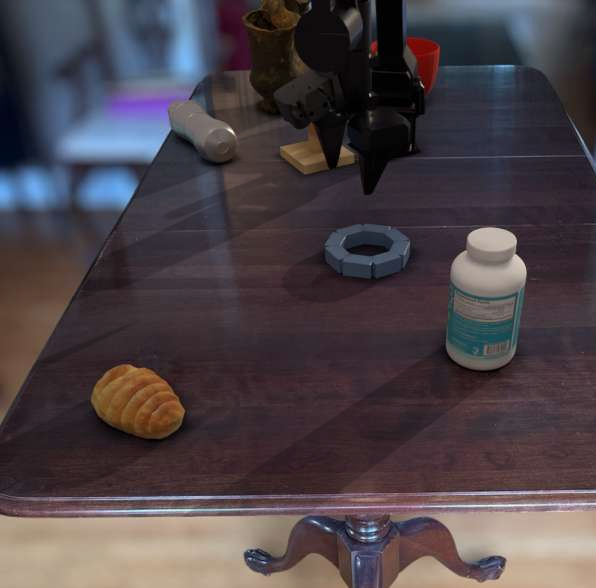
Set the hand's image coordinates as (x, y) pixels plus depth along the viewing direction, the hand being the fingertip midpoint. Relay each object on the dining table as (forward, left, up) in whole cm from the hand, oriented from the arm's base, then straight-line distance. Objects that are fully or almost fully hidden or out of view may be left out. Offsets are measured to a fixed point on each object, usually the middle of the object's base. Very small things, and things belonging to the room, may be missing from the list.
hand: (349, 180), depth 89 cm
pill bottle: (0, +28, -9) cm, 30 cm away
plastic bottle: (+5, -32, -5) cm, 33 cm away
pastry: (+34, +19, -9) cm, 40 cm away
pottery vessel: (-16, -55, -9) cm, 58 cm away
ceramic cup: (-34, -45, -9) cm, 57 cm away
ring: (0, +4, -9) cm, 10 cm away
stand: (-9, -28, -9) cm, 30 cm away
